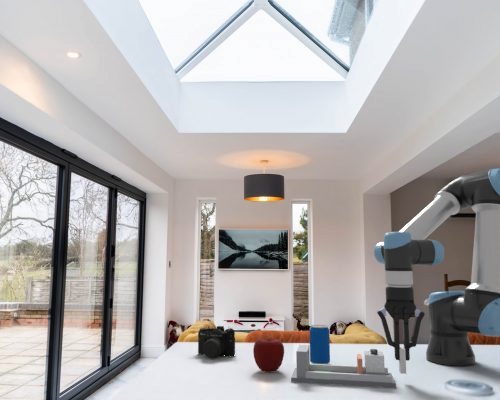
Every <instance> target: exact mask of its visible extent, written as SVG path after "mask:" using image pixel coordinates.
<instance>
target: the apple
mask: <svg viewBox="0 0 500 400" xmlns="http://www.w3.org/2000/svg"><path fill="white" fill-rule="evenodd" d="M252 351H253V358H254V362H255V364H256V366H257V367H258V369H259V370H260V371H261V372H263V373H275V372H276V371H278V369H280V367H281V365H282V364H283V361H284V357H285V346H284V344H283V342H282V341H281V340H280V339H277V338H273V337H259V338H258V339H257V340H255V342H254V344H253V349H252Z"/></svg>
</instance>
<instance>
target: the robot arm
mask: <svg viewBox="0 0 500 400" xmlns="http://www.w3.org/2000/svg"><path fill="white" fill-rule="evenodd" d="M468 208H471V209H472V211H473V212H474V213H475V225H474V237H473V238H474V239H473V251H472V262H471V263H472V264H471V265H472V266H471V277H470V284H469V285H468V286H467V287H466V288H464V289H465V290H450V291H436V292H431V293H430V294H429V296H428V312H429V313H428V314H429V329H430V336H429V341H428V344H427V346H426V347H427V348H426V351H425V357H426V360H427V361H428V362H431V363H434V364H439V365H445V366H453V367H454V366H458V367H459V366H462V367H464V366H465V367H466V366H473V365H475V364H476V355H475V353H474V350H473V348H472V347H473V346H472V344H471V343H470V340H469V333H470V334H475V335H482V336H485V337H495V338H496V337H497V338H498V337H500V168H490V169H488V170H481V171H478V172H473V173H472V172H471V173H468V174H463V175H461V176H459V177H457V178H455V179H453V180H451V182H448V184H446V185H445V186H444V187H442V188H441V189H440V190H439V191H438V192H437V193H436V194H435V195H434V198H433V200H432V201H431V202H430V203H429V204H428V205H426V207H424V208H423V209H422V210H421V211H420V212H419V213H418V214H417V215H416V216H414V217H413V218H412V219H411V220H410V221H409V222H408V223H406V224H405V225H404V226H403V227H401V229H400V230H398V231H389V232H386V233H385V234H384V235H383V241H380V242H378V243H377V244H376V245H375V246H374V251H373V255H374V257H375V260H376V261H377V262H378V263H380V264H382V265H384V280H385V281H384V282H385V285H386V287H385V303H384V305H383V306H384V307H383V308H380V309H378V310H377V311H376V313H377V315H378V316H379V318H380V321H381V324H382V328H383V330H384V334H385V337H386V338H385V339H386V342H387V344H388V345H389V346H390V347H393V348H394V358H395V360H396V361H398V370H399V373H400V374H403V375H405V374H407V361H410V359H411V356H410V355H411V354H410V349H411V348H413V347H414V348H415V347H416V346H417V343H418V338H419V333H420V328H421V324H422V320H423V318H424V316H425V312H424V311H422V310H420V309H418V308H417V306H416V304H415V300H414V299H415V297H414V293H415V292H414V288H413V287H412V286H413V285H414V277H413V276H414V275H413V273H414V272H413V266H435V265H436V266H437V265H439V264H441V263H442V262H443V260H444V258H445V248H444V246H443V244H442V243H441V242H440V241H438V240H435V239H427V238H428V237H429V236H430V235H431V234H433V232H435V230H436V229H438V227H440V226H441V225H442V224H443V223H444V222H445V221H446V220H447V219H448V218H450V216H454V215H457V214H458V213H459V212H461V211H462V210H464V209H468ZM387 313H388V315H389V316H390V317H391V318H392V325H393V326H392V327H393V339H392V335H391V331H390V328H389V324H388V322H387V318H386V316H387ZM413 314H414V317H415V318H414V323H413V328H412V331H411V332H412V333H411V338H410V330H409V328H410V327H409V321H410V318H411V316H413ZM401 320H402V335H403V336H402V337H403V346H402V347H400V345H401V344H400V321H401Z"/></svg>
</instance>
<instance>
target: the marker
mask: <svg viewBox="0 0 500 400" xmlns="http://www.w3.org/2000/svg"><path fill="white" fill-rule="evenodd" d="M362 356H363V355H362V353H357V354H356V363H357V364H356V366H357V372H358V374H363V366H364V365H363V357H362Z"/></svg>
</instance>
